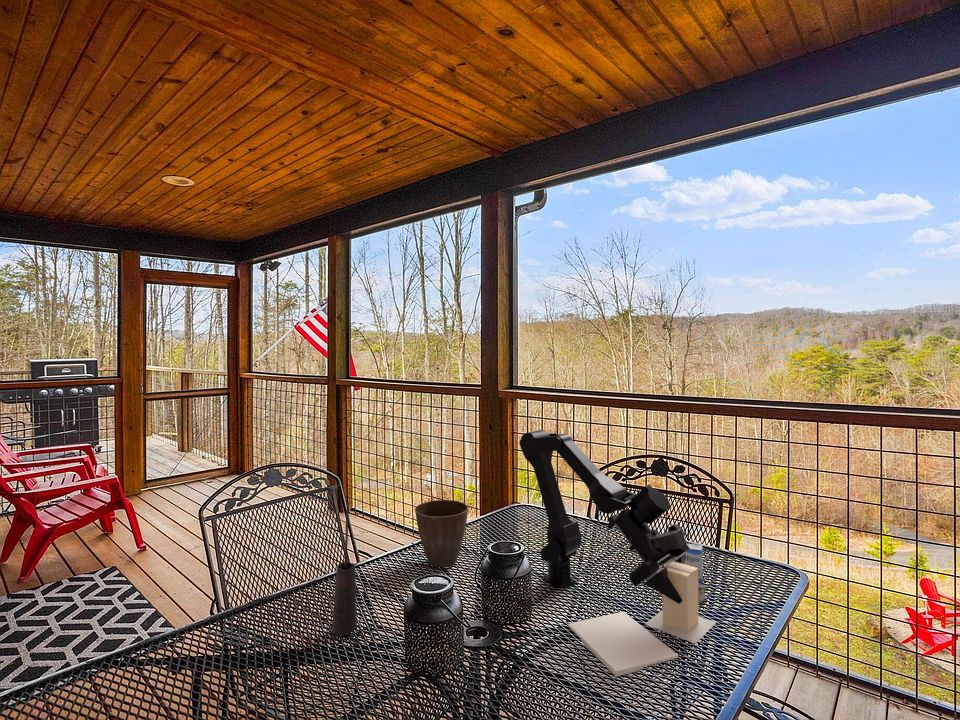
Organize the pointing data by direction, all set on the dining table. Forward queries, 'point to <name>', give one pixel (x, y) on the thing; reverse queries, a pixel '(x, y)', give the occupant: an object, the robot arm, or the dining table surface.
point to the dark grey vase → (345, 594)
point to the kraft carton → (682, 597)
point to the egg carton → (701, 592)
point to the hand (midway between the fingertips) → (686, 597)
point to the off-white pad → (621, 643)
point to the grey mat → (691, 636)
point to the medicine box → (695, 559)
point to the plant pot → (441, 530)
